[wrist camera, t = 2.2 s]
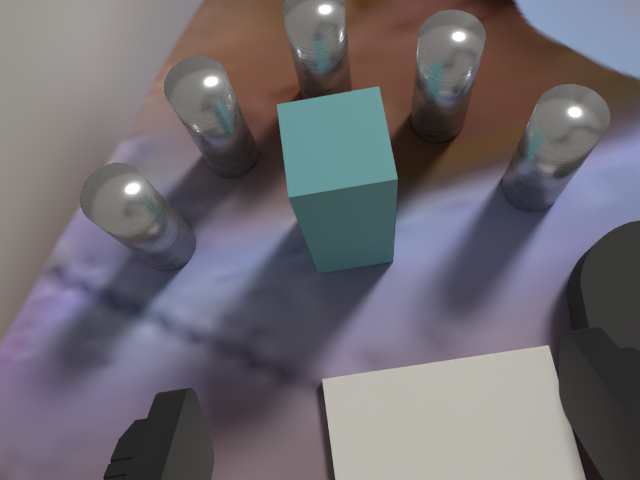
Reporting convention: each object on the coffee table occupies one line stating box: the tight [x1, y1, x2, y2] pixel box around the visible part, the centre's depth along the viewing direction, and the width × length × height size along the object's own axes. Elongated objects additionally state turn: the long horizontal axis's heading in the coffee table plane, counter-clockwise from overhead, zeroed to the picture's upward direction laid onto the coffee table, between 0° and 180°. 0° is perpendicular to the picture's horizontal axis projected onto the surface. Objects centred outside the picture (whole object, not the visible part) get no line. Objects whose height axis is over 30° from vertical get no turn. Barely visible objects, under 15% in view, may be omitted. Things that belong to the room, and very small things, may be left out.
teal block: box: [277, 86, 398, 274], centre depth 25 cm, size 4×4×10 cm
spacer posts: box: [80, 0, 610, 271], centre depth 29 cm, size 23×11×7 cm, turn 98°
